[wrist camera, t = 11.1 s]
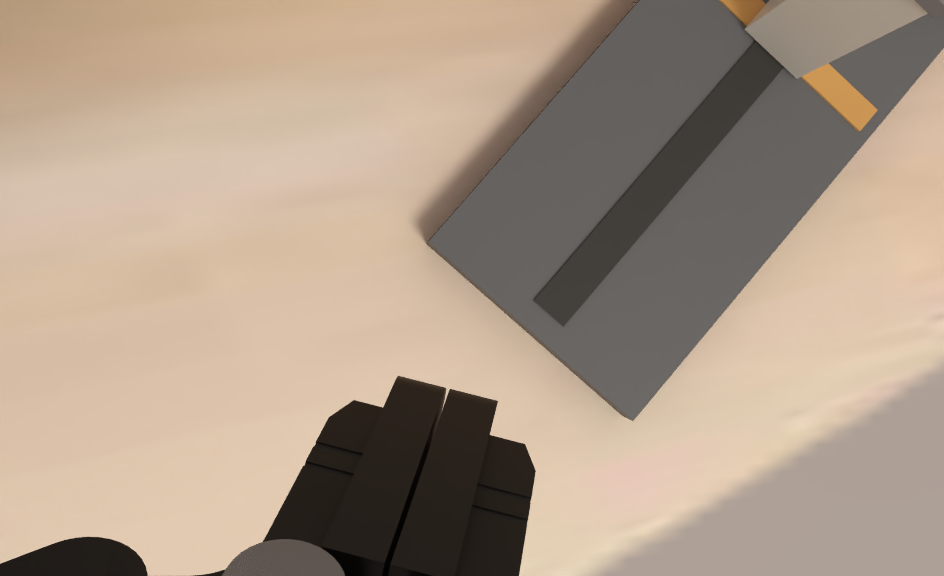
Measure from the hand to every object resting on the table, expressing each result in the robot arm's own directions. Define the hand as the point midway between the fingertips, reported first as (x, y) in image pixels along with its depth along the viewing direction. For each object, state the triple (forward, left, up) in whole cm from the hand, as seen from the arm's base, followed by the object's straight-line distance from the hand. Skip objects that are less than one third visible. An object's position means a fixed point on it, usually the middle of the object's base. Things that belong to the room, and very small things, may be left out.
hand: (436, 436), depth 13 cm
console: (+4, +16, -24) cm, 29 cm away
